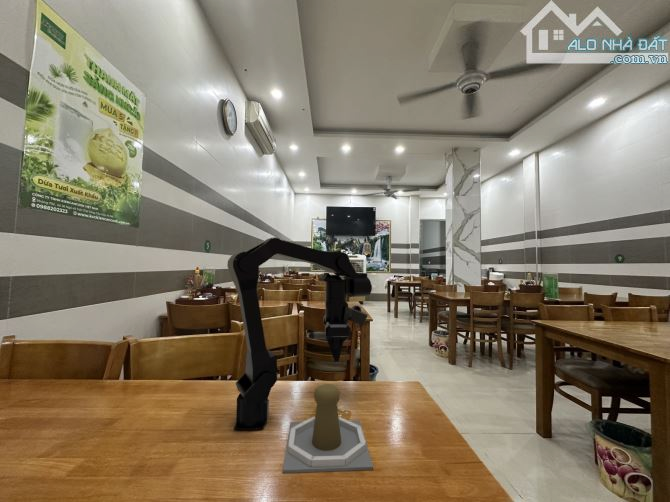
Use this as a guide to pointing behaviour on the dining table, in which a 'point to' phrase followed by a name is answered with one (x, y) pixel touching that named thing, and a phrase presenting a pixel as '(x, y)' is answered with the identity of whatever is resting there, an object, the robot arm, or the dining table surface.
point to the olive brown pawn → (326, 418)
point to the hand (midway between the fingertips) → (335, 355)
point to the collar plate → (314, 460)
